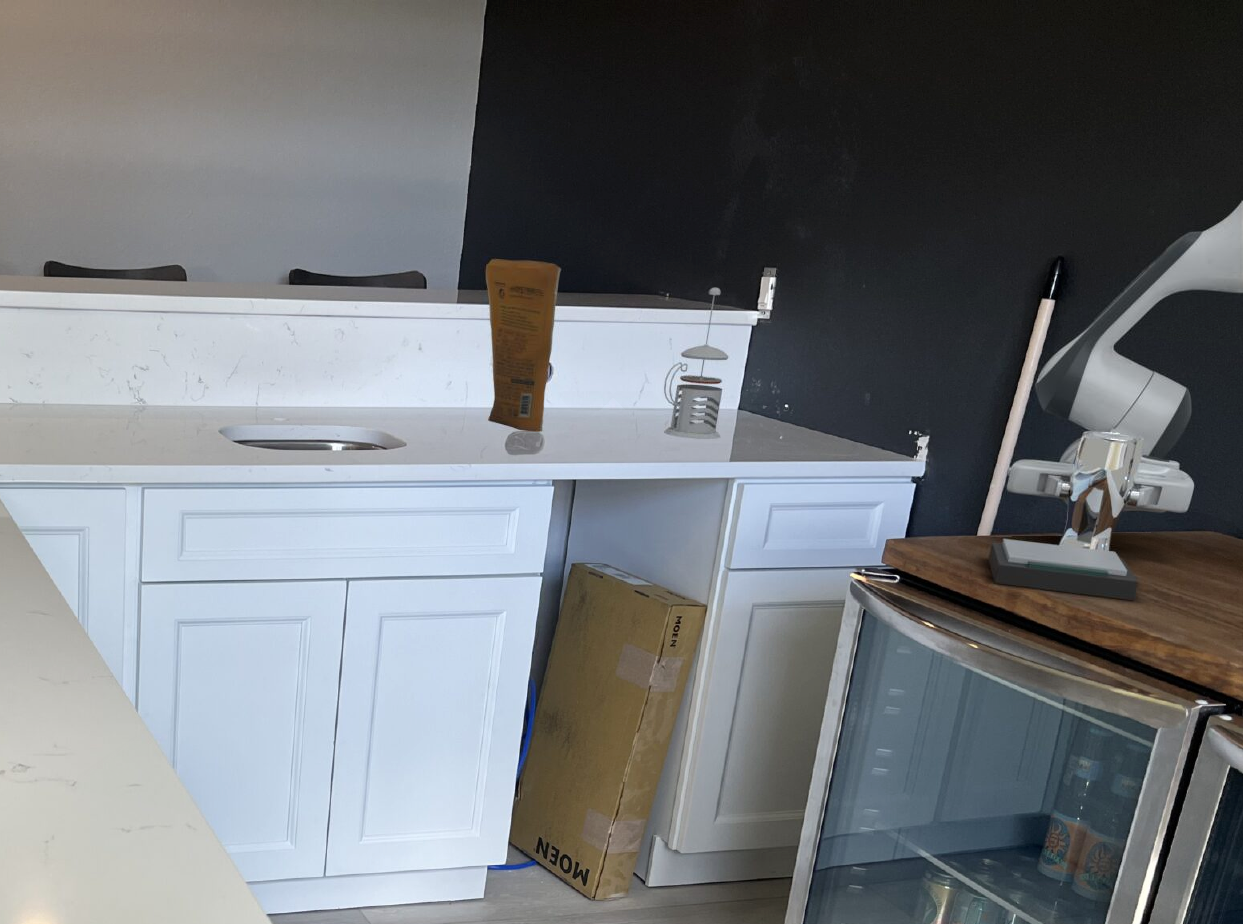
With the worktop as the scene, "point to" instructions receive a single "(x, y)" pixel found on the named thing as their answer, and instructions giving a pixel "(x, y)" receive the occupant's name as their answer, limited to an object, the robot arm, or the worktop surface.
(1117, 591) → the kitchen scale
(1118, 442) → the beer glass
